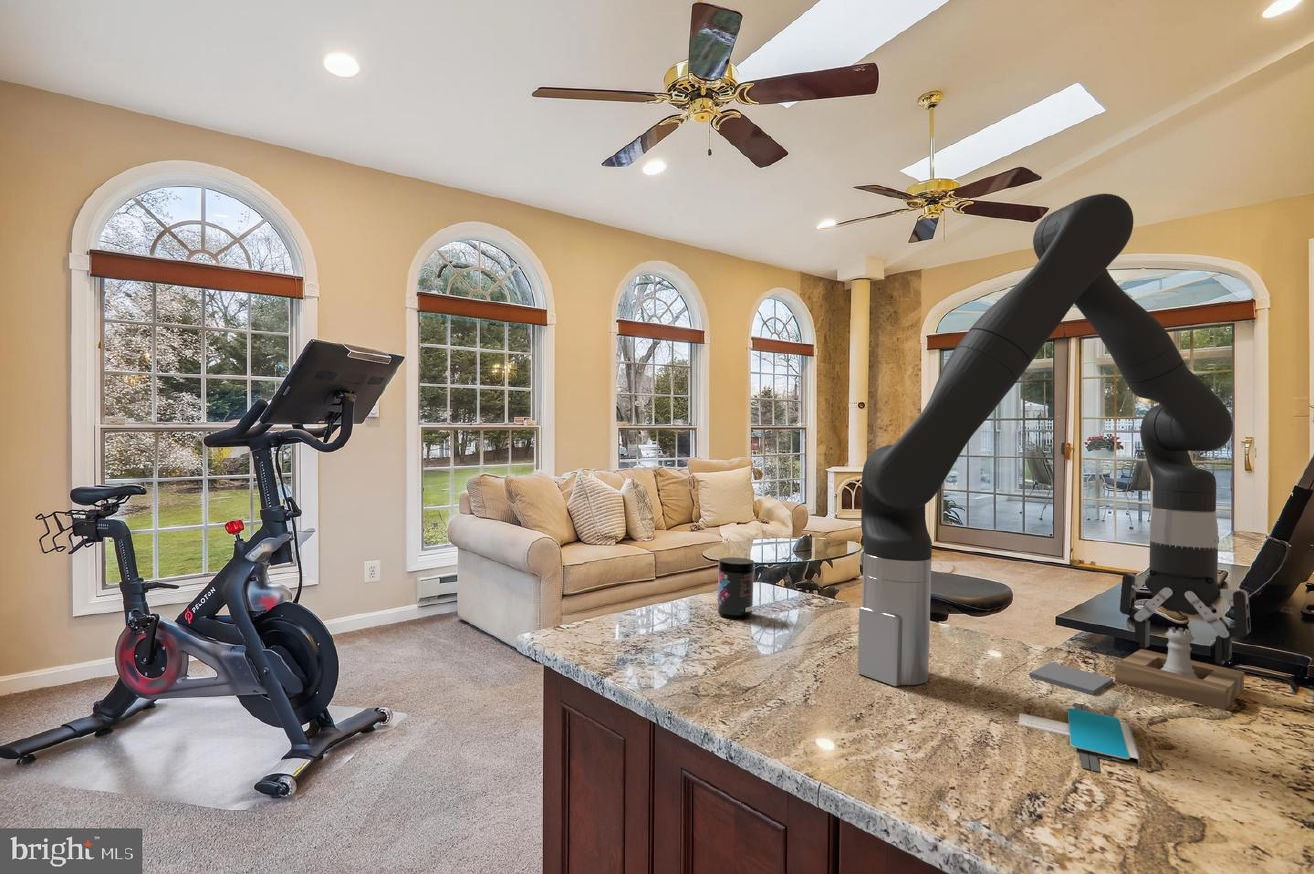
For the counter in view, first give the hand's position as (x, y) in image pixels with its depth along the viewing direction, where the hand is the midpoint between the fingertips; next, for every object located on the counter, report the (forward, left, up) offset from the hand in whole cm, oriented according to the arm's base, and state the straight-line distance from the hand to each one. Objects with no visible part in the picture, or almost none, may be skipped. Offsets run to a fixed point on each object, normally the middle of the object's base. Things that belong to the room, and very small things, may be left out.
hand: (1181, 654), depth 91 cm
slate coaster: (-11, +10, -4) cm, 16 cm away
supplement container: (-28, +61, -5) cm, 67 cm away
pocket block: (0, 0, -4) cm, 4 cm away
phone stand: (-30, +3, -5) cm, 31 cm away
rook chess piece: (0, 0, -5) cm, 5 cm away
